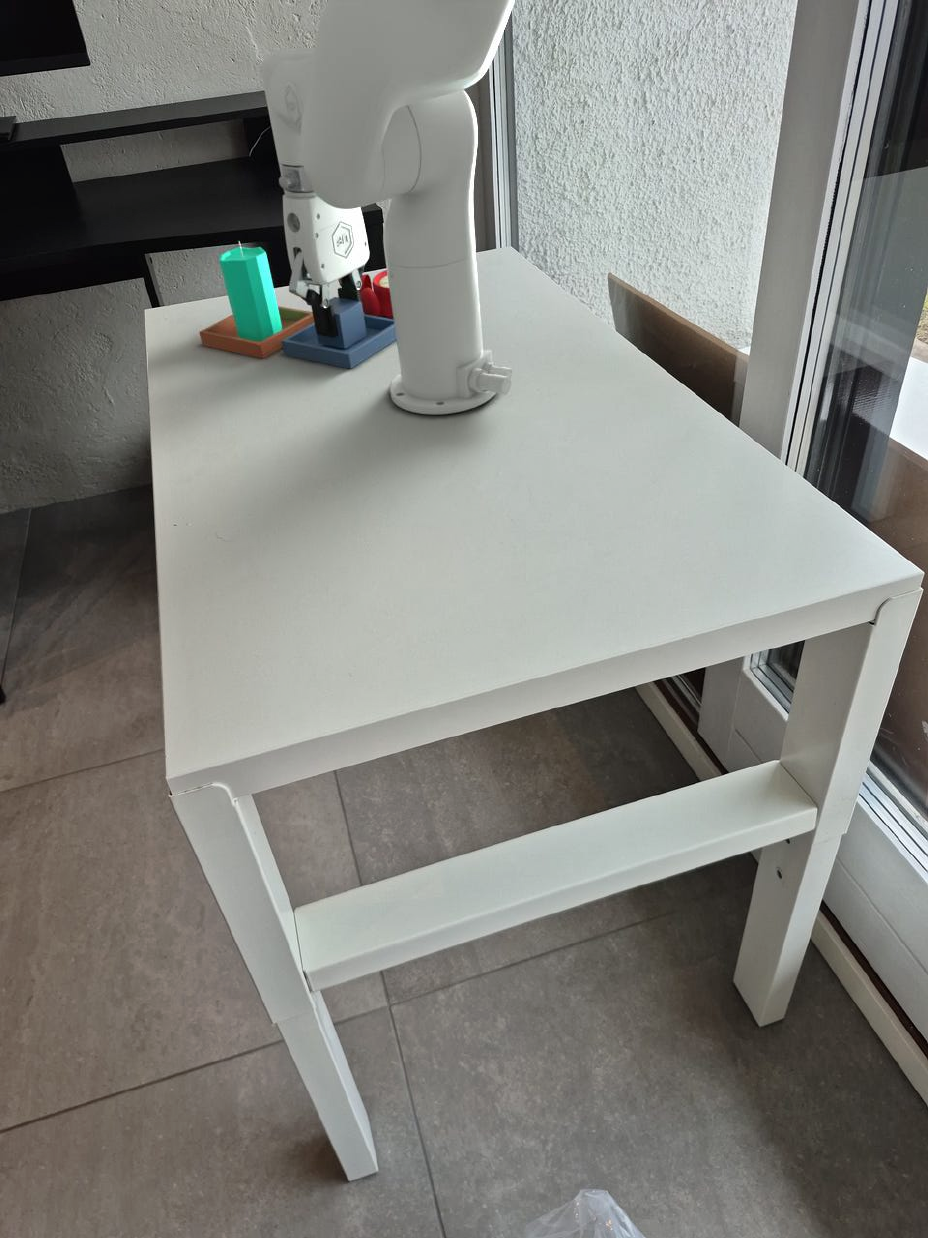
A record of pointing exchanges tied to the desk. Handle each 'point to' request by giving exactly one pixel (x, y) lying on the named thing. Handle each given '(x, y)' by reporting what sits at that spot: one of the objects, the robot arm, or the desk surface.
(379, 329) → the blue tray
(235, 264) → the candle
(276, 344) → the terracotta tray
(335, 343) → the blue block
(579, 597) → the desk surface
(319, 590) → the desk surface
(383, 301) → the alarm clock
